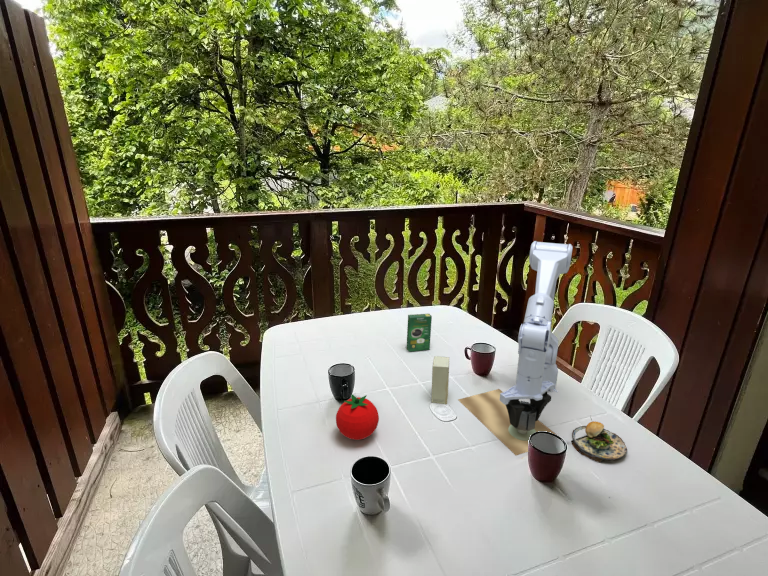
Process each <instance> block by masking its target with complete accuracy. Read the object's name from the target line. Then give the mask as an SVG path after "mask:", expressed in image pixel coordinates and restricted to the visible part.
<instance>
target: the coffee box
mask: <svg viewBox="0 0 768 576" xmlns="http://www.w3.org/2000/svg"><path fill="white" fill-rule="evenodd" d="M432 317H433V316H432V315H431V314H430V313H420V314H418V313H416V314H407V328H406V330H407V332H406V350H407V352H408V353H409V352H411V353H412V352H420V351H428V350H429V351H430V348H431V336H432V335H431V331H432Z"/></svg>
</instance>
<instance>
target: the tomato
mask: <svg viewBox="0 0 768 576" xmlns="http://www.w3.org/2000/svg"><path fill="white" fill-rule="evenodd" d="M350 395H351V398H349V399H347V400H343V403H342V404H341V405H340V406H339V407H338V410H337V411H336V414H335V423H336V427H337V428H338V430H339V432H340V434H341V435H343V436H344V437H345V438H348V439H350V440H355V441H357V440H364V439H367V438H368V437H370V436H371V435H372V434H374V432H375V431H376V429H377V428H378V424H379V421H380V415H379V411H378V409H377V407H376V405H375V404H374V403H373V402H372V401H371V400H369V399H368V398H366V397H367V394H366V395H363V396H362V397H356V396H355V395H354V394H352V393H351V394H350Z"/></svg>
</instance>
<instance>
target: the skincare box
mask: <svg viewBox="0 0 768 576" xmlns="http://www.w3.org/2000/svg"><path fill="white" fill-rule="evenodd" d="M432 361H433V362H432V371H431V372H432V373H431V374H432V375H431V403H433V404H441V405H447V404H448V399H449V382H450V381H449V379H450V378H449V377H450V375H449V373H450V357H448V356H439V355H434V356H433V360H432Z"/></svg>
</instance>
